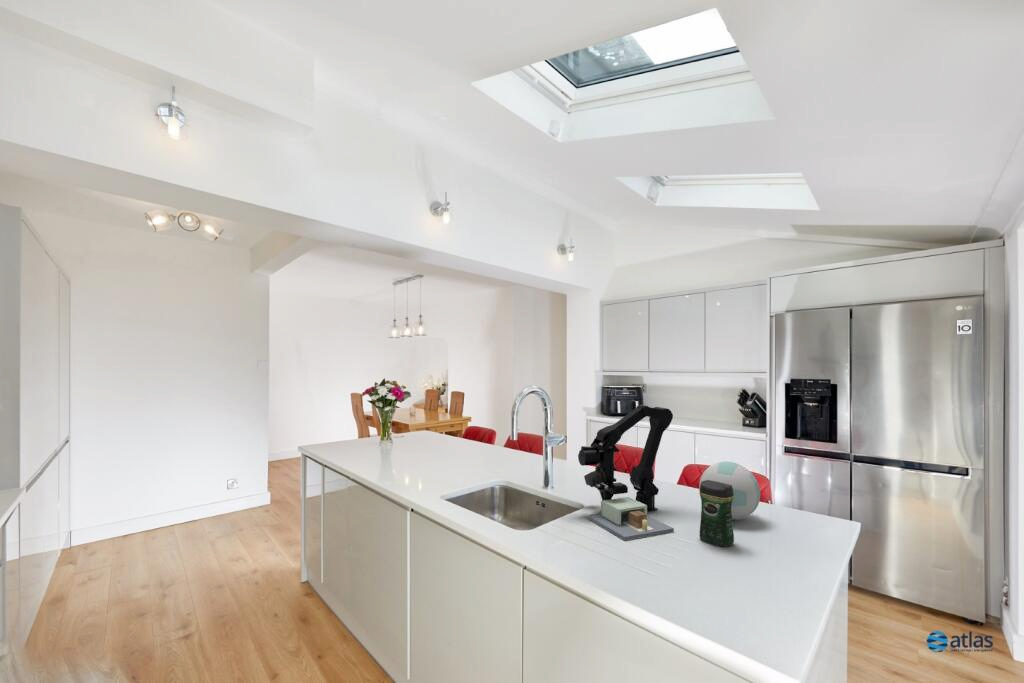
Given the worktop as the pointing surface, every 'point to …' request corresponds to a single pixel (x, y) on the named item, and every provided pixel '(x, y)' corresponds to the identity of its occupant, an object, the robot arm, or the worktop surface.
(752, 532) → the worktop surface
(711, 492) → the coffee jar
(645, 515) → the block
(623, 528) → the board
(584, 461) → the robot arm
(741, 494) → the volleyball
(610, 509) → the housing
